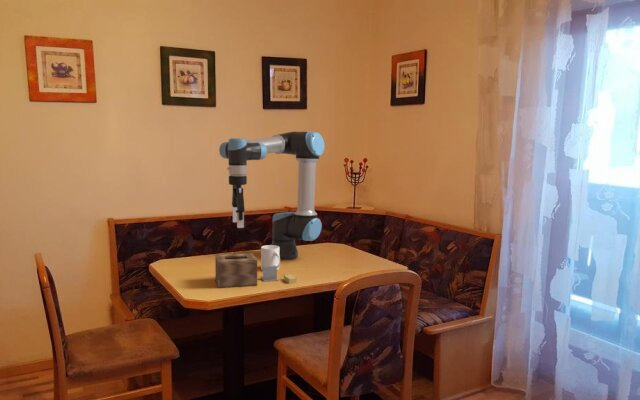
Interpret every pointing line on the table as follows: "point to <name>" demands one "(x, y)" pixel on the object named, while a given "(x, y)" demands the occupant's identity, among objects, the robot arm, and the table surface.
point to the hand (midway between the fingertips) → (238, 224)
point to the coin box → (236, 270)
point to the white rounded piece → (270, 256)
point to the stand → (269, 273)
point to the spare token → (290, 279)
